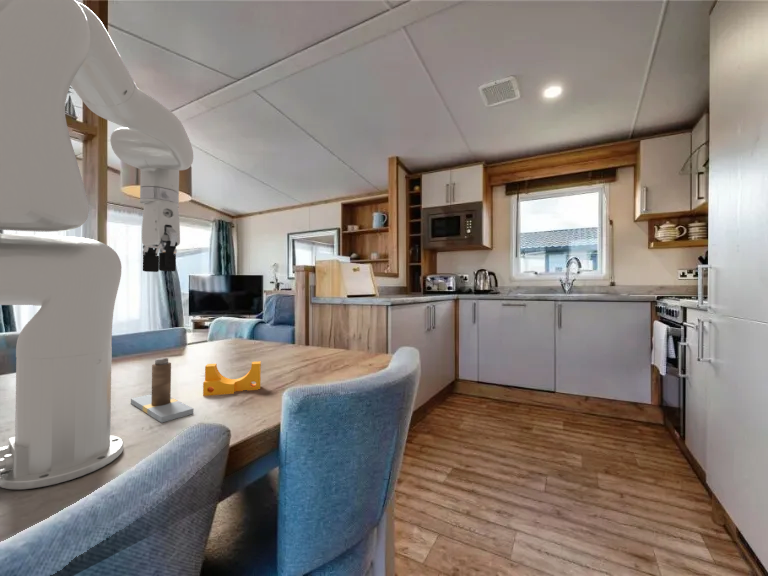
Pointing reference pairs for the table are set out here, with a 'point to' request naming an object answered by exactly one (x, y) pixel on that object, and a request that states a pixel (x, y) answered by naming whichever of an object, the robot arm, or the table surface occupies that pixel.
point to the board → (162, 408)
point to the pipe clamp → (230, 381)
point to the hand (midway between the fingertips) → (158, 271)
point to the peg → (161, 382)
